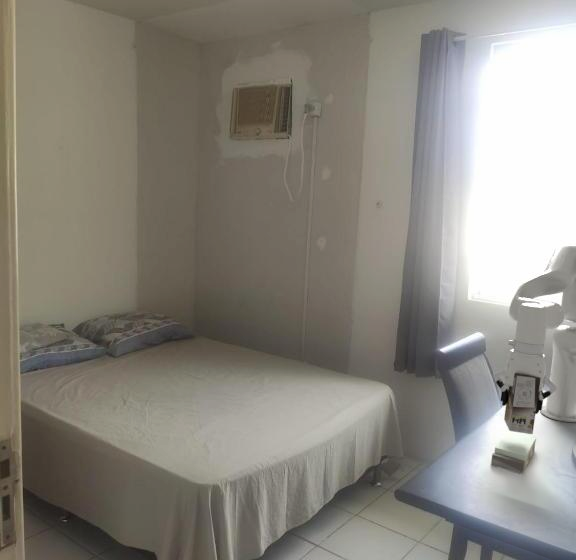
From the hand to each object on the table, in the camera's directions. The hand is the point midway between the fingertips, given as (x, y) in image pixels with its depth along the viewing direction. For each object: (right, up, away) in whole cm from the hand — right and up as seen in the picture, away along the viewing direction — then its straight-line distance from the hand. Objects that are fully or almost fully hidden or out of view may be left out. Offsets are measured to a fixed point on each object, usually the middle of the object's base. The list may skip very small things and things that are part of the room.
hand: (520, 408), depth 158 cm
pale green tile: (-1, -12, +2) cm, 12 cm away
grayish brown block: (-2, -14, +1) cm, 15 cm away
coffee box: (0, -6, +1) cm, 6 cm away
